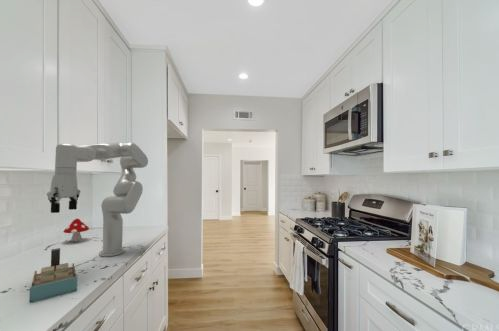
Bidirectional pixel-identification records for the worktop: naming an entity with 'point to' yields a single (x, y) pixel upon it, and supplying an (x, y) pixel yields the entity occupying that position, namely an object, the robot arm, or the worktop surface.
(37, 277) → the walnut channel
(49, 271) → the oak block
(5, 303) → the worktop surface
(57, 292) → the teal tray
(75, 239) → the decorative mushroom
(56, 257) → the grey stepped block
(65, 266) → the oak block
